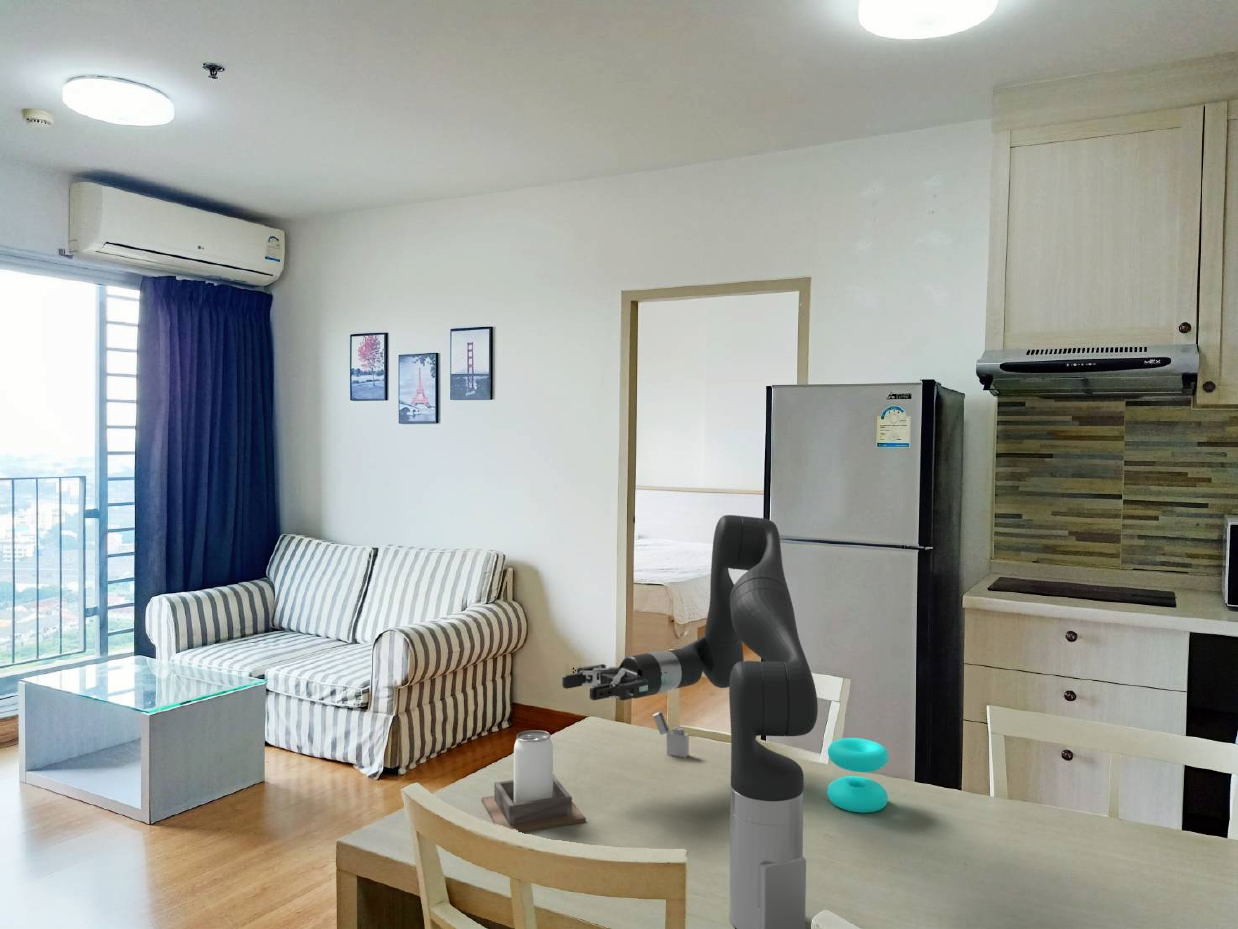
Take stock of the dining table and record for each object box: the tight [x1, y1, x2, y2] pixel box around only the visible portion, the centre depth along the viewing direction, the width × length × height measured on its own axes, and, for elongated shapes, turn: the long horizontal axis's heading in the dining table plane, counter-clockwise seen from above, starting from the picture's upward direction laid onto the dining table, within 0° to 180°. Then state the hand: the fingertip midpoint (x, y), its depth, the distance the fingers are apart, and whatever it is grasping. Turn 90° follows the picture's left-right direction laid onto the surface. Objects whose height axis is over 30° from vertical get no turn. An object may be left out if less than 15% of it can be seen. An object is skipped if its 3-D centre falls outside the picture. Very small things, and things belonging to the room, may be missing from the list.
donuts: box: [826, 737, 889, 813], centre depth 149 cm, size 10×10×10 cm
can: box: [513, 729, 554, 803], centre depth 145 cm, size 6×6×12 cm
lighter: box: [652, 710, 690, 758], centre depth 173 cm, size 7×2×8 cm, turn 65°
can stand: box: [481, 774, 587, 833], centre depth 145 cm, size 14×14×4 cm
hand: (576, 688), depth 150 cm, fingers open, 8 cm apart
